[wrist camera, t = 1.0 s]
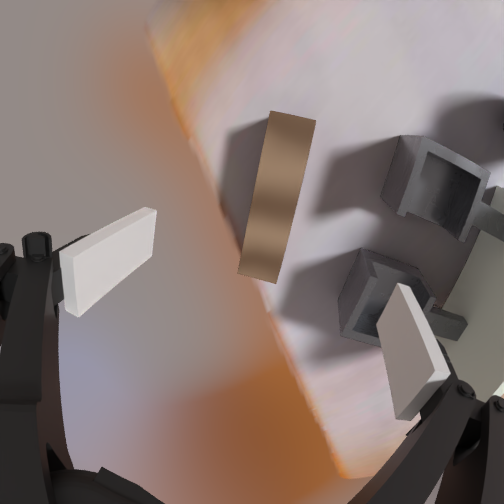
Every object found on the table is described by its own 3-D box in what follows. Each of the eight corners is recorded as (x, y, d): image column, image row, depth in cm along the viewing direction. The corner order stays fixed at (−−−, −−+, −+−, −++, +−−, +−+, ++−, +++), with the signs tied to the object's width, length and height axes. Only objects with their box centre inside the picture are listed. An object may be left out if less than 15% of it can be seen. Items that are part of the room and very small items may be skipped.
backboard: (496, 185, 25) (587, 229, 10) (504, 190, 25) (593, 236, 10) (430, 328, 33) (466, 422, 19) (438, 330, 33) (476, 422, 18)
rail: (277, 114, 28) (270, 110, 24) (315, 123, 28) (316, 120, 23) (248, 254, 35) (237, 273, 30) (281, 263, 34) (276, 283, 30)
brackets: (400, 135, 26) (423, 135, 20) (496, 185, 25) (530, 199, 18) (337, 299, 34) (340, 335, 28) (430, 328, 33) (445, 362, 27)
